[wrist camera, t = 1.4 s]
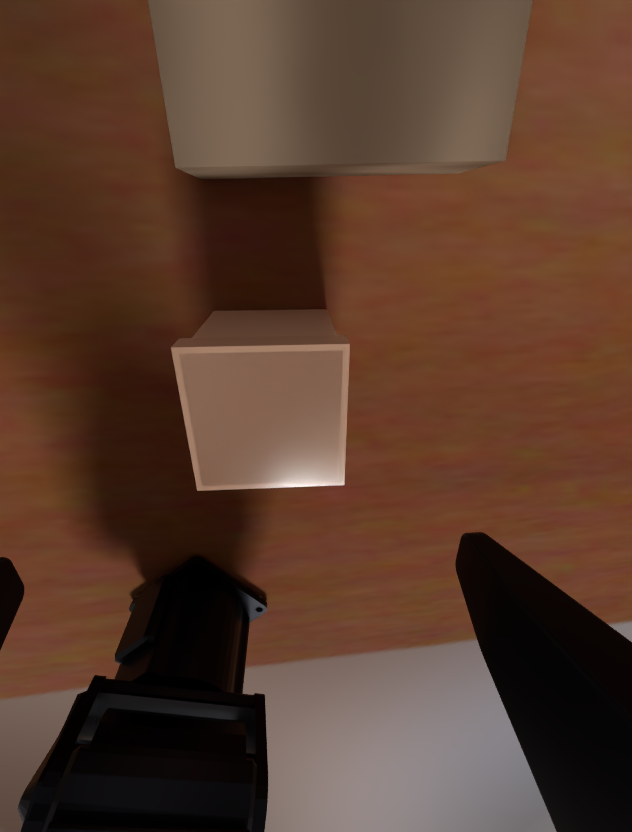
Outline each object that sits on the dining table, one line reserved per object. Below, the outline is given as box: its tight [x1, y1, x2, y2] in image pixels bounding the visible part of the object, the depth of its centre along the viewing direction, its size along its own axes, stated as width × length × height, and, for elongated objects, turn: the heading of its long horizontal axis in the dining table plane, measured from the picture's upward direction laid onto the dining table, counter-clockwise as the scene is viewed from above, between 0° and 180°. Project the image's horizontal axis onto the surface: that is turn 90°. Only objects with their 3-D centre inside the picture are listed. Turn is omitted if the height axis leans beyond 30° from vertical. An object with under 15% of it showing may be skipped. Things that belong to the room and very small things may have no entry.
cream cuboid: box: [171, 309, 350, 491], centre depth 15 cm, size 5×5×6 cm
